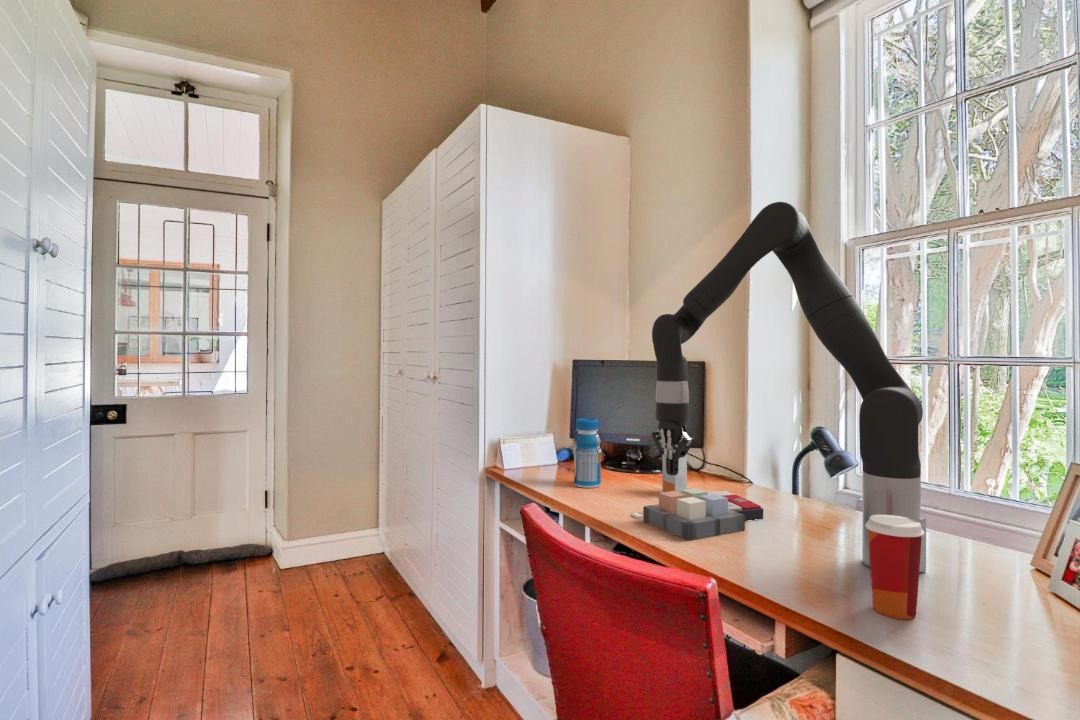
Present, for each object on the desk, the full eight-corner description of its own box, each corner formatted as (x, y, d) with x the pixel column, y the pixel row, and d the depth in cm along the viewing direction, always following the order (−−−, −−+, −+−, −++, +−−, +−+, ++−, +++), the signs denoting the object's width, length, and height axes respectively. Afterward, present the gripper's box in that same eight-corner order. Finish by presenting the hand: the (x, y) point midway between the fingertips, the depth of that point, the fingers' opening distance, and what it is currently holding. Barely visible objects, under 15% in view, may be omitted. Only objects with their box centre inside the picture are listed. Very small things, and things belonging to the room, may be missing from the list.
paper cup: (901, 600, 92) (902, 513, 91) (936, 622, 84) (936, 527, 84) (854, 601, 91) (854, 513, 91) (884, 623, 84) (884, 528, 84)
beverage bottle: (583, 489, 167) (583, 421, 167) (568, 484, 174) (567, 418, 174) (607, 486, 171) (606, 419, 171) (591, 481, 178) (591, 417, 178)
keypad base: (744, 530, 128) (744, 514, 128) (688, 540, 121) (688, 524, 121) (696, 512, 142) (696, 498, 142) (643, 521, 135) (643, 506, 135)
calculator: (725, 509, 133) (690, 491, 148) (724, 527, 134) (689, 507, 148) (764, 505, 137) (726, 488, 151) (763, 523, 137) (726, 504, 151)
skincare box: (661, 493, 163) (661, 451, 163) (673, 491, 164) (673, 450, 164) (675, 498, 157) (675, 454, 157) (687, 496, 159) (687, 453, 159)
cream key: (705, 519, 126) (705, 501, 126) (689, 522, 124) (689, 503, 124) (692, 514, 130) (692, 496, 130) (676, 516, 128) (676, 499, 128)
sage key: (707, 508, 135) (707, 491, 135) (693, 511, 133) (693, 493, 133) (695, 504, 139) (695, 487, 139) (680, 506, 137) (680, 489, 137)
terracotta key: (686, 512, 132) (686, 494, 132) (670, 514, 130) (670, 497, 130) (673, 507, 136) (673, 490, 136) (658, 509, 134) (658, 492, 134)
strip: (690, 510, 144) (690, 507, 144) (638, 518, 137) (638, 515, 137) (683, 507, 147) (683, 505, 147) (631, 515, 140) (631, 512, 140)
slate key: (727, 515, 129) (727, 498, 129) (712, 518, 127) (712, 500, 127) (714, 510, 133) (714, 493, 133) (699, 513, 131) (699, 495, 131)
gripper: (704, 401, 129) (704, 478, 129) (667, 397, 141) (667, 468, 141) (677, 403, 125) (677, 482, 126) (642, 398, 137) (642, 470, 138)
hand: (672, 474), depth 133 cm, fingers closed
